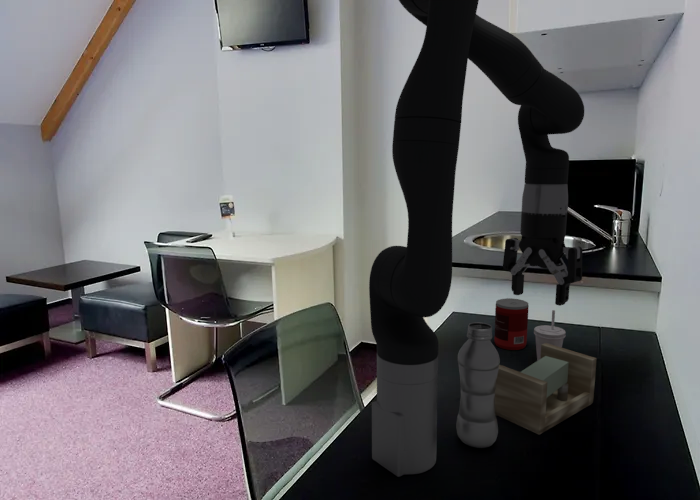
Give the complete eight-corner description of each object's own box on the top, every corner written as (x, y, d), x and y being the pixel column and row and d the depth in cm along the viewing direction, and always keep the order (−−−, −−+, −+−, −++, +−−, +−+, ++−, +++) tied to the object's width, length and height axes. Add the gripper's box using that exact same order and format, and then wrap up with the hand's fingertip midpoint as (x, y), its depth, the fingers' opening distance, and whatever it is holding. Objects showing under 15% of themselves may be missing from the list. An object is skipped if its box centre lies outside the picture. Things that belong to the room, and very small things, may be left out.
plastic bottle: (490, 458, 79) (495, 335, 75) (449, 445, 82) (452, 328, 79) (502, 438, 84) (507, 323, 81) (463, 427, 88) (466, 317, 84)
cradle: (539, 434, 85) (542, 384, 84) (488, 411, 93) (490, 365, 92) (593, 403, 96) (596, 358, 95) (543, 384, 104) (545, 342, 103)
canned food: (529, 342, 128) (532, 300, 126) (521, 353, 121) (524, 308, 119) (499, 337, 132) (501, 296, 130) (490, 347, 125) (491, 304, 123)
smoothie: (566, 379, 106) (570, 315, 104) (533, 377, 108) (537, 314, 105) (559, 367, 112) (563, 306, 110) (529, 365, 114) (532, 305, 111)
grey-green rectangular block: (539, 403, 88) (540, 382, 88) (515, 395, 91) (516, 374, 91) (567, 381, 97) (568, 362, 96) (544, 375, 100) (545, 355, 99)
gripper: (497, 208, 92) (493, 294, 95) (571, 214, 81) (564, 312, 84) (521, 206, 97) (517, 288, 99) (594, 211, 86) (587, 304, 88)
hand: (538, 299), depth 92 cm, fingers open, 8 cm apart
